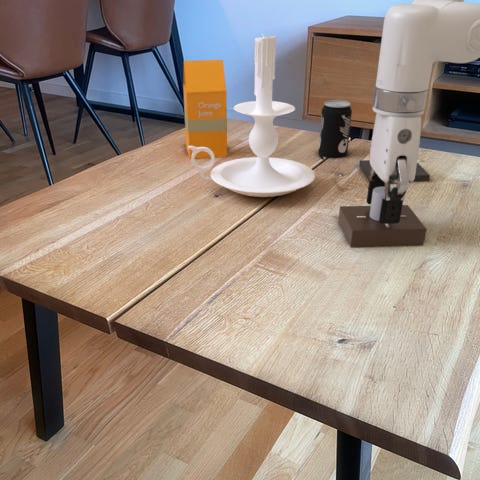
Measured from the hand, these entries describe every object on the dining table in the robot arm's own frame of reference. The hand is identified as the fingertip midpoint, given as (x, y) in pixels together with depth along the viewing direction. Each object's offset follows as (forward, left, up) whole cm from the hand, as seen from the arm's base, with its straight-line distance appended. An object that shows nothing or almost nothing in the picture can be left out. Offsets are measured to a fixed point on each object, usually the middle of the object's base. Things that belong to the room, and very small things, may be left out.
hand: (382, 212), depth 92 cm
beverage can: (0, -41, -4) cm, 41 cm away
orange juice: (+29, -46, -4) cm, 55 cm away
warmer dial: (0, 0, -1) cm, 1 cm away
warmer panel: (0, 0, -4) cm, 4 cm away
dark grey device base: (-10, -27, -4) cm, 29 cm away
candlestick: (+20, -22, -4) cm, 30 cm away
